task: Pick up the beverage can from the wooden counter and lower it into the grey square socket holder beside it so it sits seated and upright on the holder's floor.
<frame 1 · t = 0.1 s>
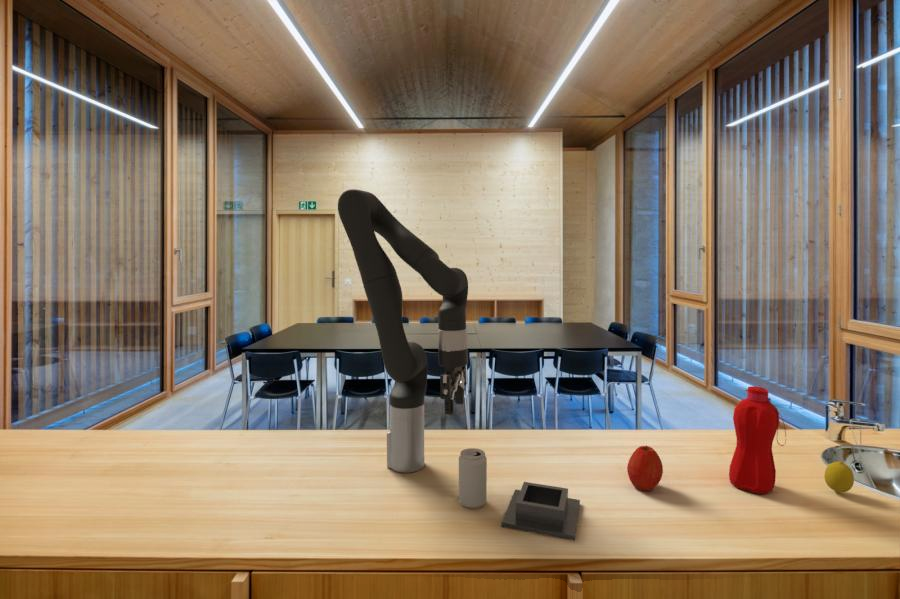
hand: (454, 408, 126), 17 cm above the counter, tool pointing down, fingers open, 8 cm apart
grey square socket holder: (542, 514, 108), on the counter
lemon: (837, 494, 118), on the counter
apple: (644, 488, 121), on the counter
water bottle: (755, 488, 121), on the counter
beverage can: (472, 503, 113), on the counter
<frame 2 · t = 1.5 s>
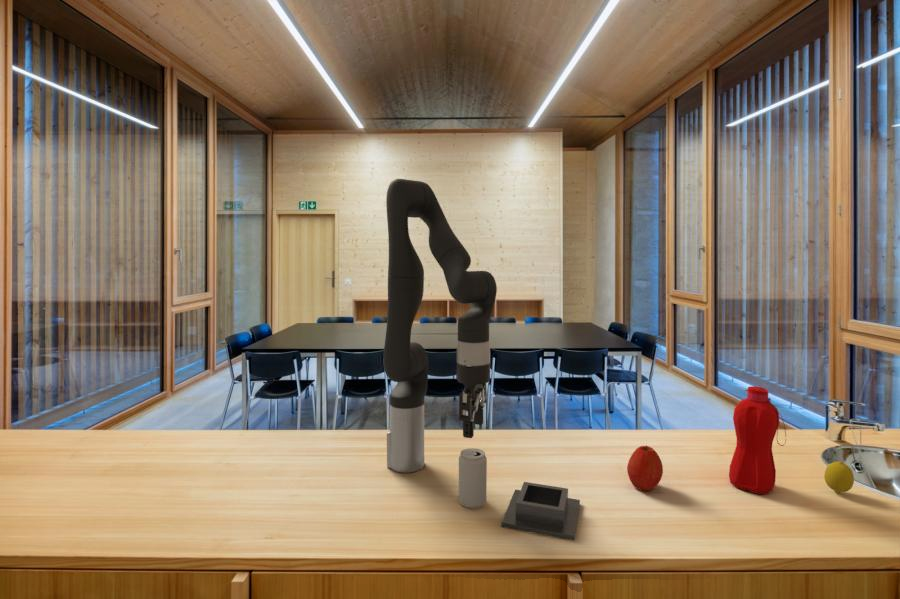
hand: (473, 430, 111), 17 cm above the counter, tool pointing down, fingers open, 8 cm apart
nothing on the counter moved.
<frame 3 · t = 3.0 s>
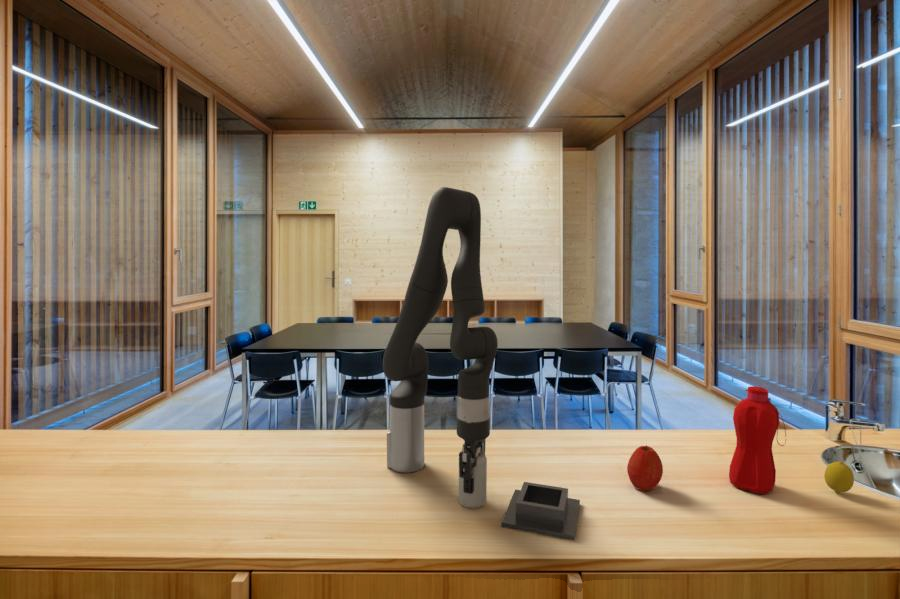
hand: (472, 485, 112), 4 cm above the counter, tool pointing down, fingers closed on beverage can, 6 cm apart
beverage can: (472, 503, 113), on the counter, touching gripper
everything else where it was.
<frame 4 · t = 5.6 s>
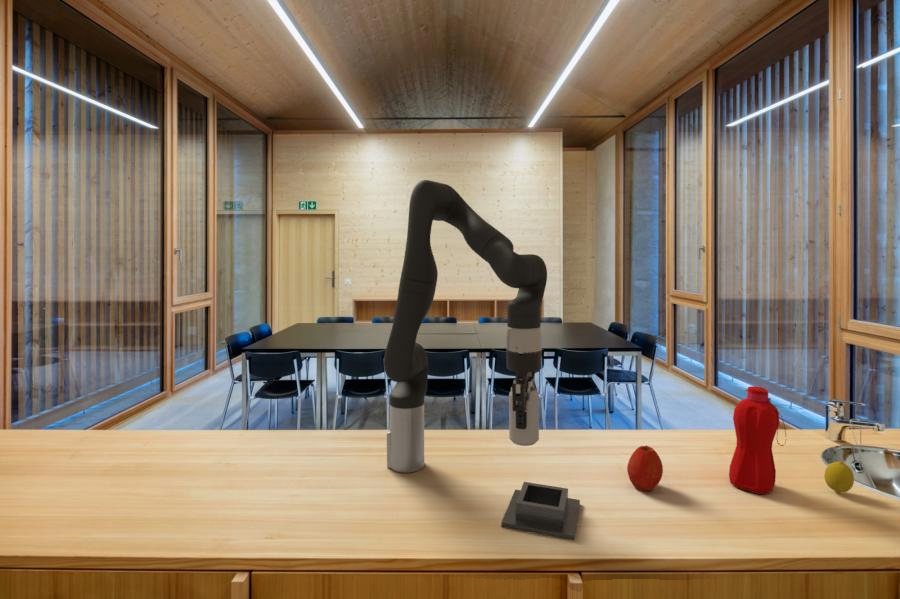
hand: (524, 422, 107), 20 cm above the counter, tool pointing down, fingers closed on beverage can, 6 cm apart
beverage can: (523, 442, 107), point 16 cm above the counter, touching gripper
everything else where it was.
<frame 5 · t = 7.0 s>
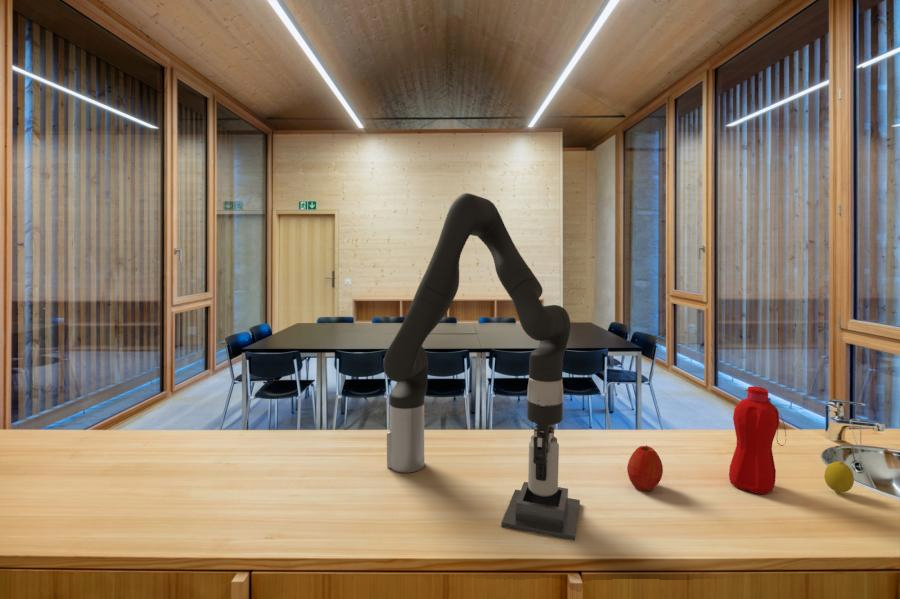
hand: (543, 472, 107), 10 cm above the counter, tool pointing down, fingers closed on beverage can, 6 cm apart
beverage can: (542, 491, 107), point 5 cm above the counter, touching gripper
everything else where it was.
when the fingers open (7 cm above the counter, at t = 8.2 s): beverage can drops 1 cm, resting on grey square socket holder.
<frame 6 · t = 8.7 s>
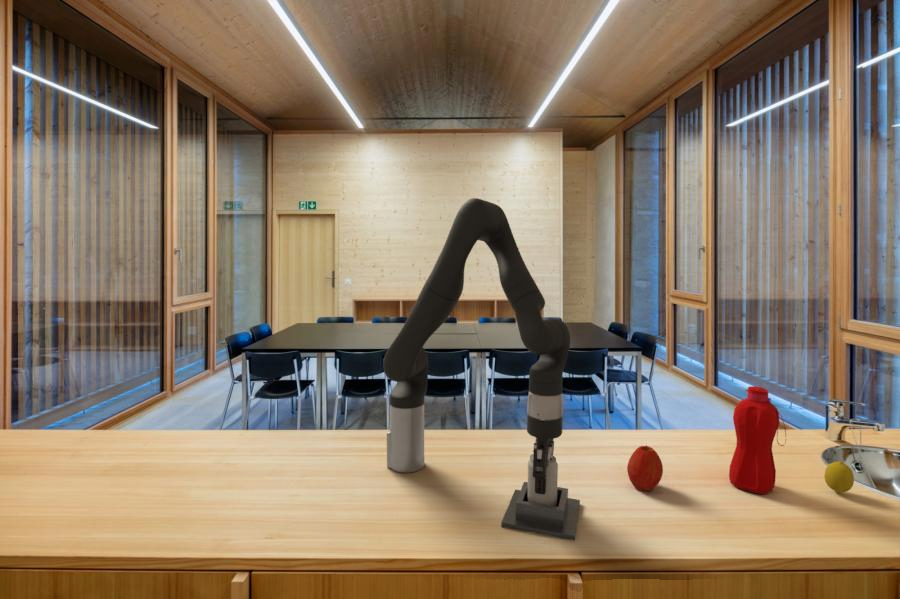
hand: (543, 484, 107), 7 cm above the counter, tool pointing down, fingers open, 8 cm apart
beverage can: (541, 510, 108), point 1 cm above the counter, touching grey square socket holder
everything else where it was.
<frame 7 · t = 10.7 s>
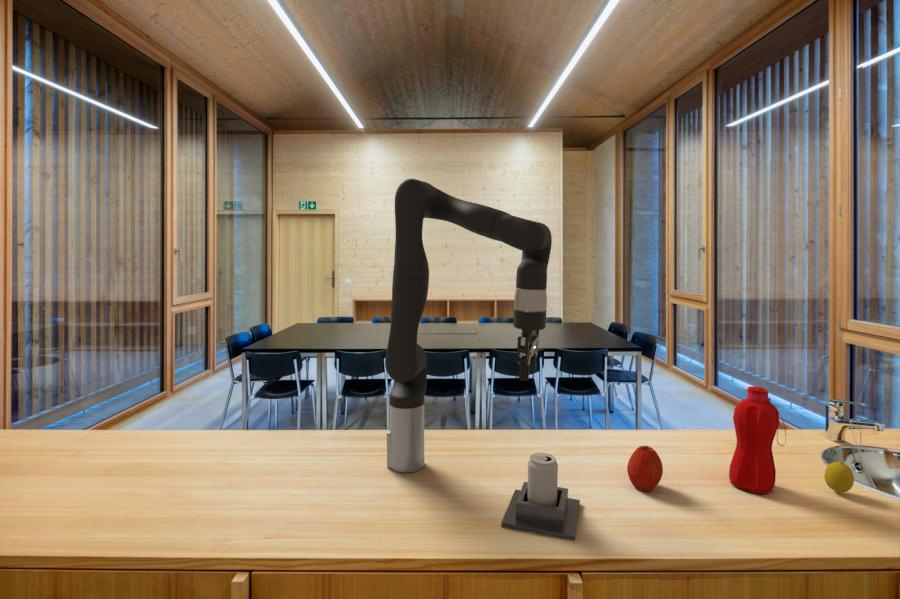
hand: (527, 375, 116), 28 cm above the counter, tool pointing down, fingers open, 8 cm apart
nothing on the counter moved.
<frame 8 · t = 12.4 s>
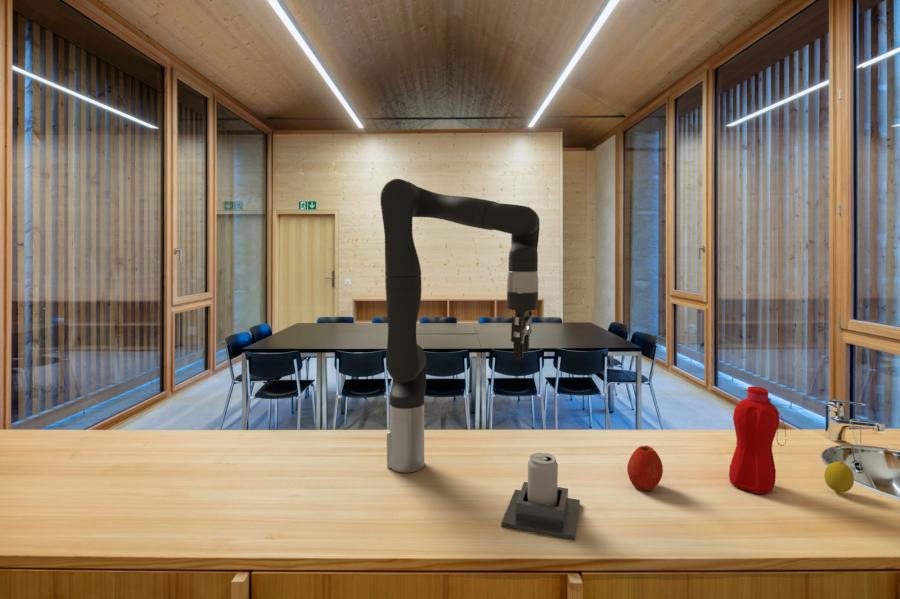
hand: (521, 355, 121), 32 cm above the counter, tool pointing down, fingers open, 8 cm apart
nothing on the counter moved.
at the end: beverage can 0.4 cm off-centre on the grey square socket holder, point 0.8 cm above the grey square socket holder's base; beverage can tilted 0°; the gripper is holding nothing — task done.
